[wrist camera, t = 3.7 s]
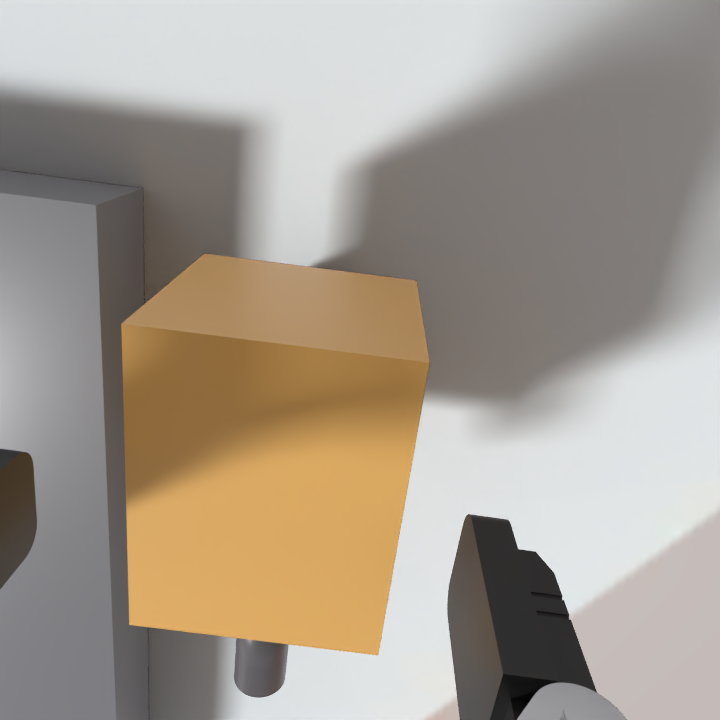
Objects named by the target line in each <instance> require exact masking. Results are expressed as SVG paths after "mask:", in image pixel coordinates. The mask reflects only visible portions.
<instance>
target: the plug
mask: <svg viewBox="0 0 720 720" xmlns="http://www.w3.org/2000/svg"><path fill="white" fill-rule="evenodd" d="M121 330H122V368H123V405H124V443H125V481H126V519H127V556H128V594H129V625H134V626H143V627H151V628H159V629H167V630H175V631H183V632H192V633H200V634H208V635H216V636H224V637H233V638H237V639H236V655H235V672H234V680H235V683H236V686H237V687H238V689H239V690H240V691H241V692H243V693H244V694H246V695H248V696H251V697H266V696H269V695H272V694H273V693H275V692H276V691H278V690H279V689H280V688H281V686H282V685H283V683H284V680H285V673H286V663H287V654H288V644H290V645H298V646H306V647H314V648H323V649H331V650H339V651H347V652H355V653H364V654H372V655H378V653H379V647H380V642H381V636H382V630H383V625H384V619H385V613H386V608H387V602H388V596H389V591H390V585H391V579H392V574H393V568H394V562H395V557H396V551H397V545H398V540H399V534H400V528H401V523H402V517H403V511H404V506H405V500H406V494H407V489H408V483H409V477H410V472H411V466H412V460H413V455H414V449H415V443H416V438H417V432H418V426H419V421H420V415H421V409H422V404H423V398H424V392H425V386H426V381H427V375H428V369H429V364H430V361H429V355H428V349H427V343H426V336H425V330H424V324H423V318H422V312H421V305H420V299H419V293H418V287H417V281H416V280H408V279H400V278H393V277H385V276H377V275H369V274H361V273H353V272H346V271H338V270H330V269H322V268H314V267H306V266H298V265H291V264H283V263H275V262H267V261H259V260H251V259H244V258H236V257H228V256H220V255H212V254H203V255H202V256H201V257H200V258H198V259H197V260H196V261H195V262H194V263H192V264H191V265H190V266H189V267H188V268H187V269H185V270H184V271H183V272H182V273H181V274H179V275H178V276H177V277H176V278H175V279H174V280H172V281H171V282H170V283H169V284H168V285H166V286H165V287H164V288H163V289H162V290H161V291H159V292H158V293H157V294H156V295H155V296H153V297H152V298H151V299H150V300H149V301H148V302H146V303H145V304H144V305H143V306H142V307H140V308H139V309H138V310H137V311H136V312H135V313H133V314H132V315H131V316H130V317H129V318H127V319H126V320H125V321H124V322H123V323H122V324H121Z"/></svg>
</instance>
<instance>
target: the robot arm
mask: <svg viewBox="0 0 720 720" xmlns="http://www.w3.org/2000/svg"><path fill="white" fill-rule="evenodd" d="M36 530H37V513H36V497H35V482H34V466H33V460H32V457H31V455H30V454H29V453H27V452H22V451H15V450H7V449H0V589H1V588H2V587H3V585H4V584H5V583H6V582H7V581H8V579H9V578H10V577H11V576H12V574H13V573H14V572H15V571H16V569H17V568H18V567H19V566H20V565H21V563H22V562H23V561H24V560H25V558H26V557H27V555H28V554H29V552H30V550H31V548H32V545H33V542H34V539H35V535H36ZM448 623H449V631H450V640H451V648H452V657H453V665H454V673H455V682H456V690H457V699H458V707H459V716H460V720H627V719H626V718H625V716H624V715H623V714H622V713H621V712H620V711H619V709H618V708H617V707H615V706H614V705H613V704H612V703H611V702H610V701H609V700H607V699H606V698H604V697H603V696H601V695H600V694H598V693H597V691H596V689H595V686H594V683H593V680H592V677H591V675H590V672H589V669H588V666H587V664H586V661H585V658H584V656H583V652H582V650H581V647H580V644H579V641H578V639H577V636H576V633H575V630H574V627H573V625H572V622H571V620H569V613H568V611H567V608H566V605H565V602H564V600H562V594H561V591H560V588H559V586H558V583H557V580H556V577H555V575H554V572H553V571H552V570H551V569H550V568H549V567H548V566H547V564H546V563H545V562H544V561H543V560H542V559H541V558H540V556H539V555H538V554H537V553H536V552H533V551H526V550H519V549H518V548H517V544H516V541H515V537H514V534H513V531H512V527H511V524H510V522H509V520H506V519H499V518H492V517H484V516H477V515H470V514H468V515H467V516H466V518H465V520H464V524H463V528H462V532H461V536H460V540H459V545H458V549H457V553H456V558H455V562H454V566H453V570H452V575H451V579H450V584H449V591H448Z"/></svg>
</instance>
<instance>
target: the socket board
mask: <svg viewBox="0 0 720 720" xmlns="http://www.w3.org/2000/svg"><path fill="white" fill-rule="evenodd" d="M143 305H144V237H143V188H138V187H130V186H122V185H114V184H107V183H99V182H91V181H83V180H75V179H68V178H60V177H52V176H44V175H37V174H29V173H21V172H13V171H6V170H0V449H7V450H15V451H22V452H27V453H29V454H30V455H31V457H32V460H33V466H34V482H35V497H36V513H37V530H36V535H35V539H34V542H33V545H32V548H31V550H30V552H29V554H28V555H27V557H26V558H25V560H24V561H23V562H22V563H21V565H20V566H19V567H18V568H17V569H16V571H15V572H14V573H13V574H12V576H11V577H10V578H9V579H8V581H7V582H6V583H5V584H4V585H3V587H2V588H1V589H0V720H149V682H148V627H143V626H134V625H129V594H128V556H127V519H126V481H125V443H124V405H123V368H122V330H121V324H122V323H123V322H124V321H125V320H126V319H127V318H129V317H130V316H131V315H132V314H133V313H135V312H136V311H137V310H138V309H139V308H140V307H142V306H143Z"/></svg>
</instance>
